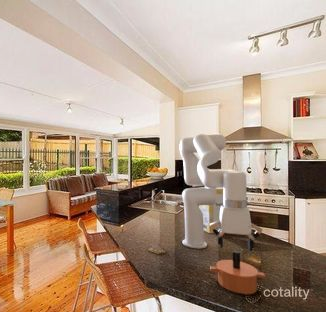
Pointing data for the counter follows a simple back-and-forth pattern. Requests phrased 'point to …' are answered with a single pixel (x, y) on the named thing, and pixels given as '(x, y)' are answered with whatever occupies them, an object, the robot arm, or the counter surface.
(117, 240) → the counter surface
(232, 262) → the lid
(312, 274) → the counter surface
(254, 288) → the pan
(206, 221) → the pasta box
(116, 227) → the counter surface
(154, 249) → the shard
